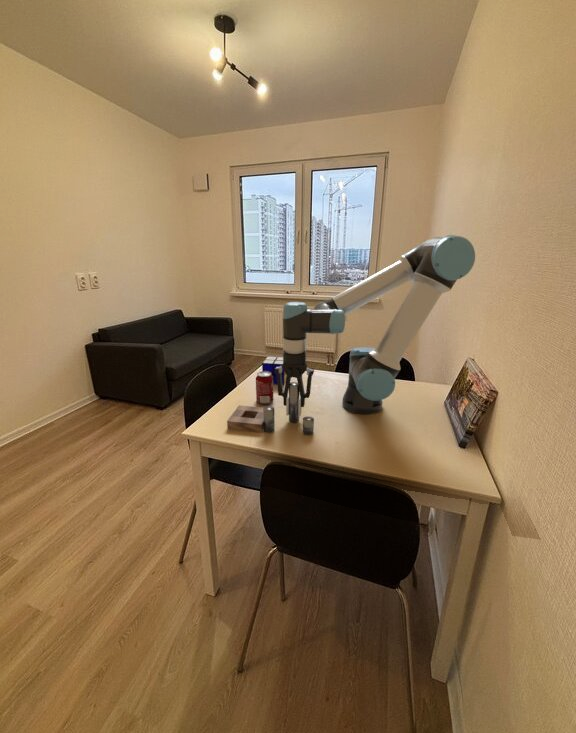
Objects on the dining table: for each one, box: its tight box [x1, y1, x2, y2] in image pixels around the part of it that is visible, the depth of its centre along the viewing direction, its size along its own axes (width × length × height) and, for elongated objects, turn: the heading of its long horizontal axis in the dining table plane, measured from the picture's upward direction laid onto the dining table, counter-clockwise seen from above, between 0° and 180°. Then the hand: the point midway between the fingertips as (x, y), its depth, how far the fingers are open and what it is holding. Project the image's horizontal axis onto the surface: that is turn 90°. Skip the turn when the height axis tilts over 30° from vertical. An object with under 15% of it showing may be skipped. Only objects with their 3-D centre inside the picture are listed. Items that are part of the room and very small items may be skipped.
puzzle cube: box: [261, 356, 287, 386], centre depth 149 cm, size 10×10×10 cm
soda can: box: [255, 371, 274, 405], centre depth 127 cm, size 7×7×12 cm
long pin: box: [288, 381, 300, 424], centre depth 112 cm, size 4×4×14 cm
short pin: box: [302, 416, 315, 436], centre depth 106 cm, size 4×4×5 cm
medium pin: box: [263, 405, 276, 434], centre depth 107 cm, size 4×4×8 cm
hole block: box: [226, 404, 264, 433], centre depth 113 cm, size 12×12×3 cm
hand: (293, 414), depth 114 cm, fingers closed on long pin, 3 cm apart
